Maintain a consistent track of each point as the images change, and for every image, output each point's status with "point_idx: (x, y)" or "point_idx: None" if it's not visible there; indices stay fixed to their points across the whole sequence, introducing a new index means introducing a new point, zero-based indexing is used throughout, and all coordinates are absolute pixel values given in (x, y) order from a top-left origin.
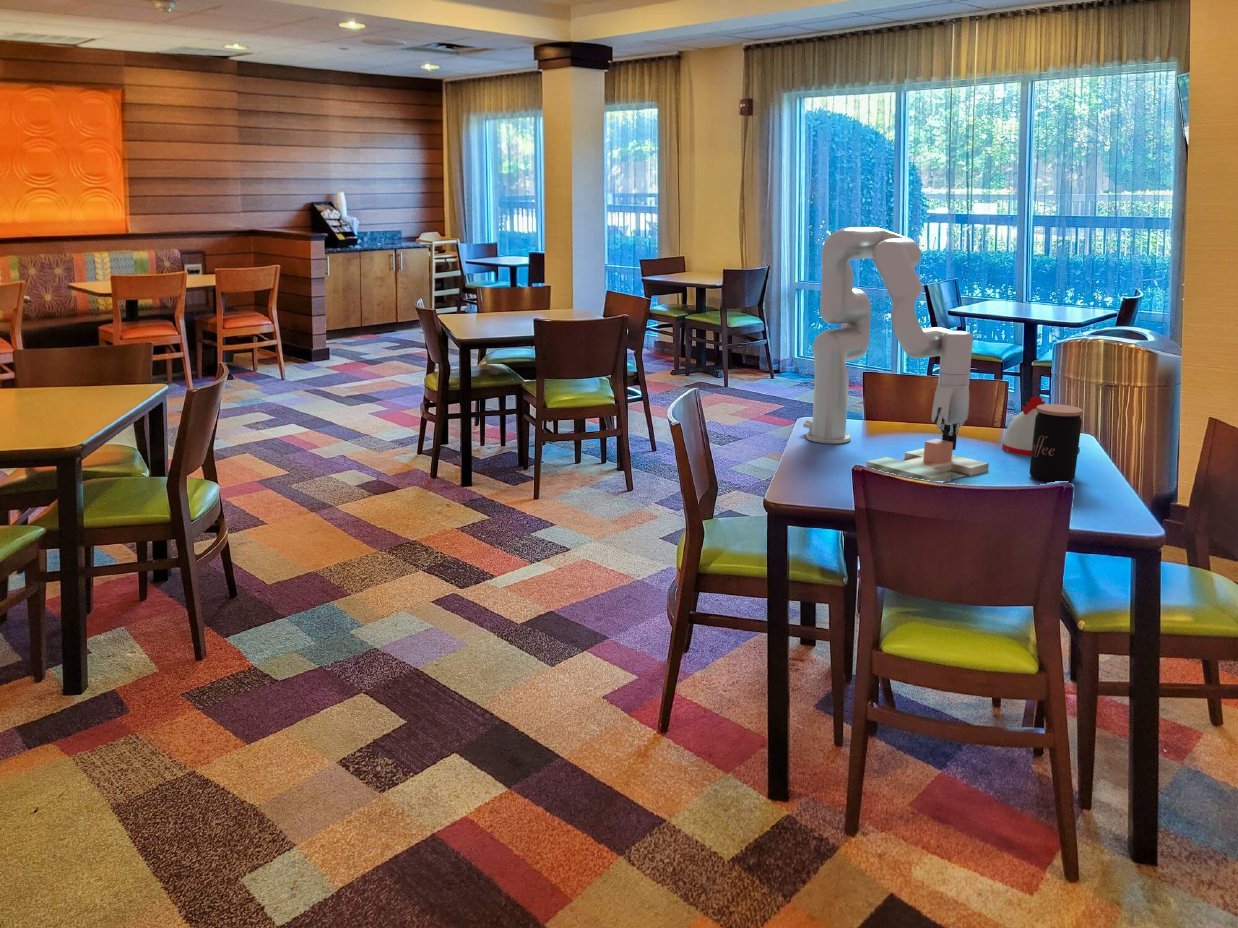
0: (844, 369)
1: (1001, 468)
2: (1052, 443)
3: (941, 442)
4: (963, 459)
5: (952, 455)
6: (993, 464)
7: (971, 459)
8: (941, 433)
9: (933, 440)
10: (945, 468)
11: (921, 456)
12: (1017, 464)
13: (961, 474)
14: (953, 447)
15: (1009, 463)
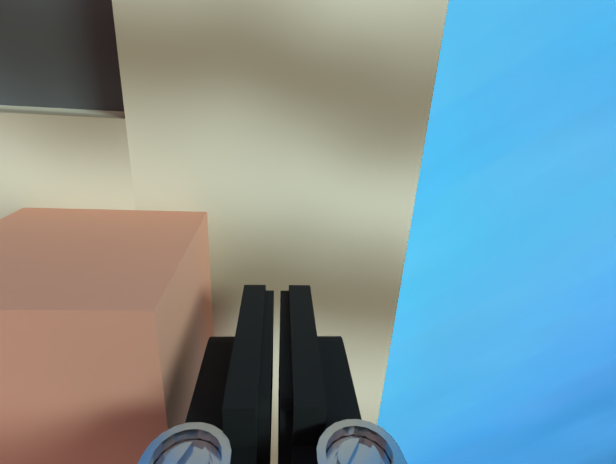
0: None
1: (457, 455)
2: None
3: (31, 456)
4: None
5: (387, 265)
6: (516, 398)
7: (374, 400)
8: (155, 439)
9: (14, 347)
10: None
11: (126, 107)
12: (595, 456)
13: None
14: (278, 397)
15: (593, 428)
